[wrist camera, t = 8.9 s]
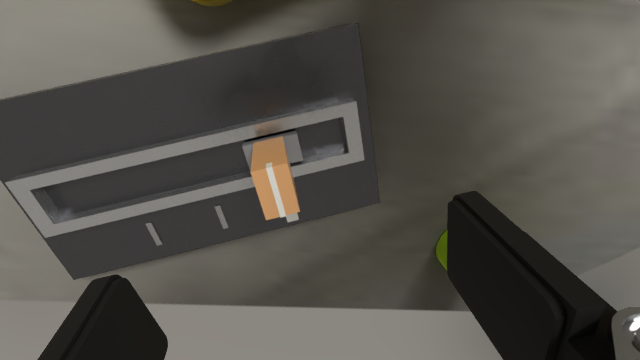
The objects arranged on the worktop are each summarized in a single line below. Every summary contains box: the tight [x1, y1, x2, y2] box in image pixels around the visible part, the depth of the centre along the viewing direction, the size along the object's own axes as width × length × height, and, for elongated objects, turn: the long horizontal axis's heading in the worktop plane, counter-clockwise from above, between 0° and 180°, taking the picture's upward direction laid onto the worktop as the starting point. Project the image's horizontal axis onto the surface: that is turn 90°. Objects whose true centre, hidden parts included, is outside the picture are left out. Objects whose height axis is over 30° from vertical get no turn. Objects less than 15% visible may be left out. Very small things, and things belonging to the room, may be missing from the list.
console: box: [0, 23, 380, 280], centre depth 22 cm, size 13×24×4 cm, turn 101°
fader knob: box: [242, 130, 303, 220], centre depth 18 cm, size 3×4×6 cm
